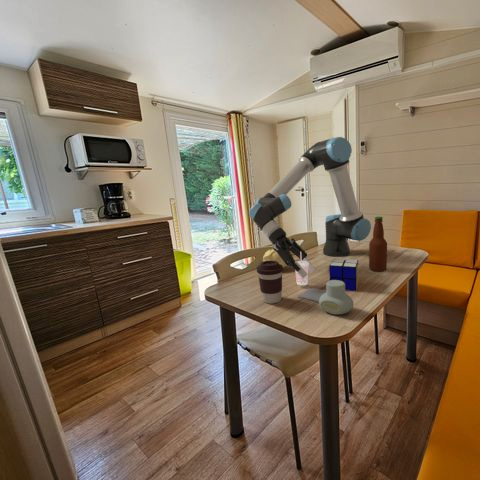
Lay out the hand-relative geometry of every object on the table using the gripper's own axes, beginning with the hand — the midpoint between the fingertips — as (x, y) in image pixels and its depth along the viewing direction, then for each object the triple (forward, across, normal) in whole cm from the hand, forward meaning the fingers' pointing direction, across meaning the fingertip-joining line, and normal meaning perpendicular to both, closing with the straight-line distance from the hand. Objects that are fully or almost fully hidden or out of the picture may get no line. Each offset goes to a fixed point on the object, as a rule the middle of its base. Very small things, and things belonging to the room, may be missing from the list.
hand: (309, 273), depth 108 cm
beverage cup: (+1, 0, -6) cm, 6 cm away
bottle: (+16, -35, +6) cm, 39 cm away
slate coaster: (+8, +6, 0) cm, 10 cm away
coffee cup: (0, +18, -9) cm, 20 cm away
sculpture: (-15, -13, -24) cm, 31 cm away
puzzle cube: (+12, -10, +2) cm, 16 cm away
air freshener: (+16, +13, +7) cm, 22 cm away
